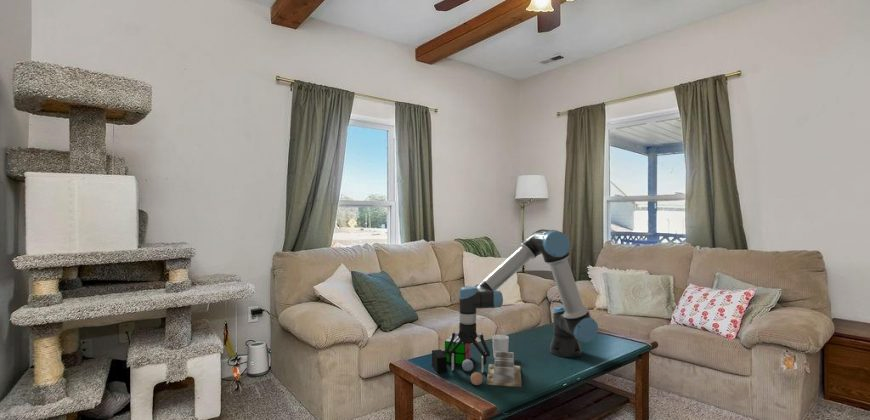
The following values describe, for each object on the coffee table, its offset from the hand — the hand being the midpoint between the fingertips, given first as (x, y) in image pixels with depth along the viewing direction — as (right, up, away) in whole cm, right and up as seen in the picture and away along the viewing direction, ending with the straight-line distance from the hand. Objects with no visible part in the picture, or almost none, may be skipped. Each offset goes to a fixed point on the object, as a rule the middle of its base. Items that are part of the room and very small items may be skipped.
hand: (467, 370), depth 185 cm
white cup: (+17, -1, +17) cm, 24 cm away
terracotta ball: (+3, 0, -15) cm, 15 cm away
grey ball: (0, 0, 0) cm, 0 cm away
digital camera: (-12, -1, +3) cm, 12 cm away
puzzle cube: (-4, -1, +14) cm, 14 cm away
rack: (+15, 0, -6) cm, 16 cm away
